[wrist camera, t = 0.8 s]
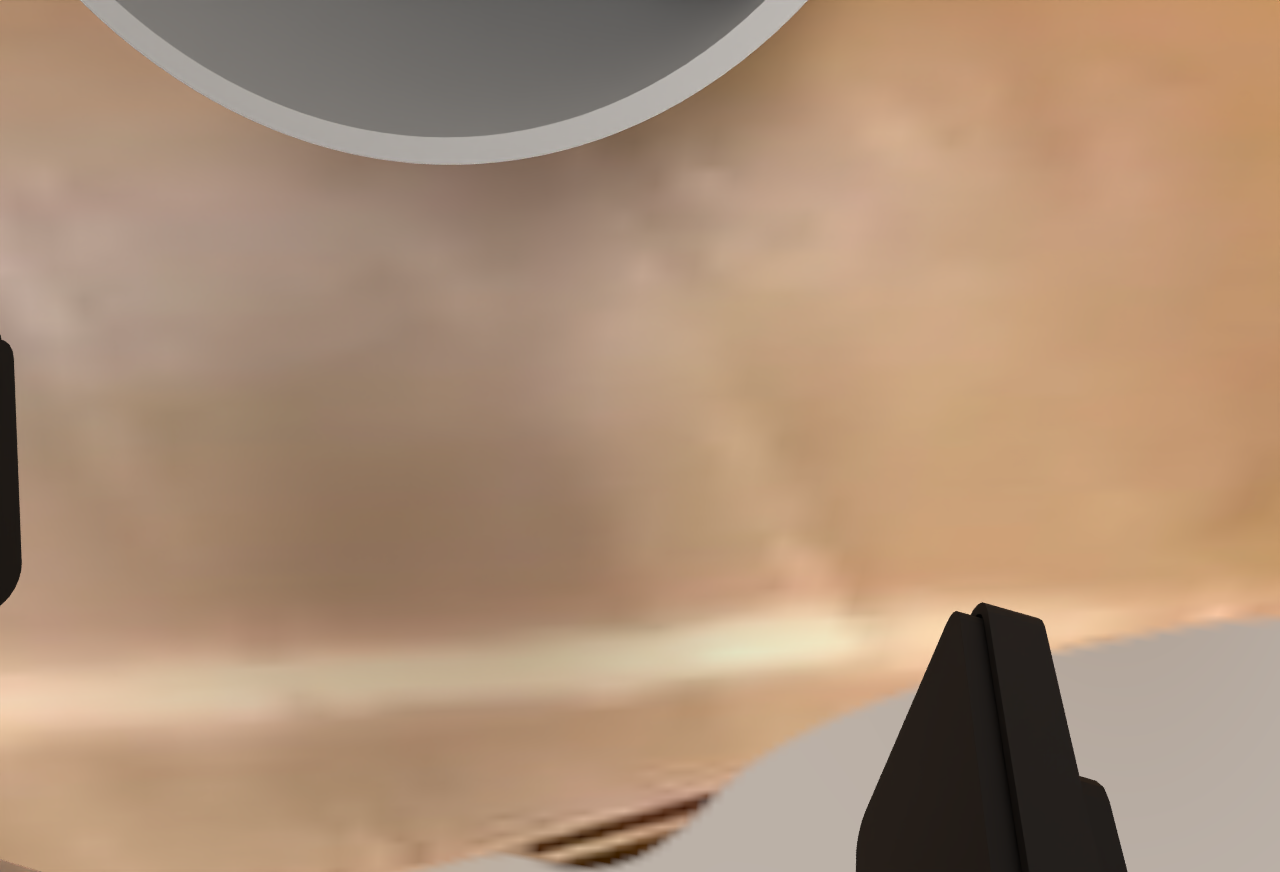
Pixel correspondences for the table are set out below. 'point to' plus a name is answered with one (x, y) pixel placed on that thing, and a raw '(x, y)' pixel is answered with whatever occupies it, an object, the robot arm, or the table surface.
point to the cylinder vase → (446, 66)
